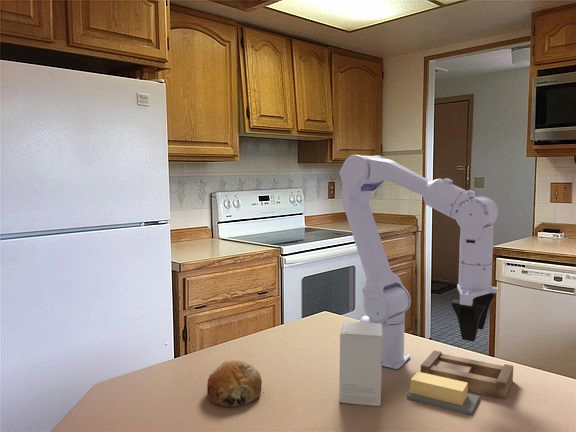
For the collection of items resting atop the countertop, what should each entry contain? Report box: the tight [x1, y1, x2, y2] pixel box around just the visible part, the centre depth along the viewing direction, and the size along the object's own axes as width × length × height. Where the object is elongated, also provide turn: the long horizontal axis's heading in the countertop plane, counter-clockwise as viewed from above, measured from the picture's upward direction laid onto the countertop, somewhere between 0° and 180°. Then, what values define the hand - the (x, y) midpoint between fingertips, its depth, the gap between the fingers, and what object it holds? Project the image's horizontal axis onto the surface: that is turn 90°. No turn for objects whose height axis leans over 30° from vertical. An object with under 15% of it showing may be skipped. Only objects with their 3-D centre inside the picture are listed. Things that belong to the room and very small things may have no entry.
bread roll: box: [206, 359, 263, 408], centre depth 89 cm, size 10×10×8 cm
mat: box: [406, 390, 480, 416], centre depth 87 cm, size 11×6×1 cm, turn 58°
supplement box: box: [338, 321, 383, 407], centre depth 88 cm, size 7×7×13 cm
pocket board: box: [420, 350, 514, 400], centre depth 94 cm, size 15×9×3 cm, turn 58°
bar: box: [410, 371, 469, 405], centre depth 87 cm, size 9×4×2 cm, turn 58°
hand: (473, 334), depth 92 cm, fingers open, 7 cm apart
